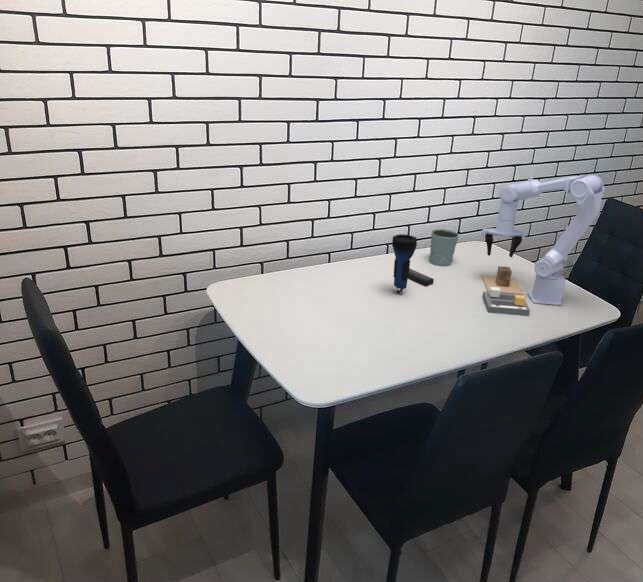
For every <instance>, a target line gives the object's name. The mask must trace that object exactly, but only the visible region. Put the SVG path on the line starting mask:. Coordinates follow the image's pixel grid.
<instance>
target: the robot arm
mask: <svg viewBox="0 0 643 582" xmlns="http://www.w3.org/2000/svg"><path fill="white" fill-rule="evenodd" d="M561 190H563V191H564V192H565V193H566V194H569V193H570V195H571V196H572V198H573V199H574V201H575V203H576V204H577V206H578V210H579V211H578V212H577V214H576V215H574V216H575V217H573V219H572V220H571V222H570V224H569V225H568V226H567V228H566V229H565V230H564V231H563V233H562V234H561V236H560V237H559V238H558V240H557V242H556V243H554V246H552V248H551V249H550V250H549V251H548V252H546V253H545V255H544V256H543V257H542V258H540V259H539V260H537V261H536V262H535V264H534V272H535V278H534V282H533V288H532V291H529V292H527V294H528V297H529V299H530V300H531V301H532V303H533V304H542V305H555V306H556V305H557V306H562V300H563V298H564V294H565V289H566V278H565V277H564V276H563V275H560V272H561V271H563V270H564V268H565V267H566V266H565V265H566V261H567V259H568V257H569V256H568V254H569V253H570V252H571V251H572V250H573V249H574V247H575V245H576V244H577V243H578V241H579V240H580V238H582V236H583V235H584V233H585V232H586V230H587V229H588V228H589V227H590V225H591V224H592V223H593V221H594V220H595V219H596V218H597V217H598V215H599V214H600V212H601V206H602V198H603V197H602V196H603V194H604V191H605V187H604V184H603V180H602V179H601V178H600V177H599V176H598V175H597V174H589V175H576V176H575V175H574V176H566V177H562V178H558V179H554V180H549V181H544V182H541V181H539V180H538V179H534V178H529V179H527V180H526V181H523V182H519V181H516V182H514V183H512V184H508V185H504V186H503V187H501V188H500V189H499V192H498V194H499V195H498V197H499V199H500V205H499V210H498V214H497V220H496V221H497V222H496V225H495V226H496V228H494V227H493V228H492V227H491V228H482V231H481V235H482V236H484V239H485V242H486V248H487V249H486V250H487V251H486V252H487V253H486V254H487V256H491V254H492V246H493V243H494V236H495V237H496V236H498V237H505V238H506V237H508V238H509V237H510V238H511V244H510V248H509V254H508V255H509V257H510V258H513V256H514V254H515V252H516V250H517V248H518V247H519V246H520V245H521V243H522V242H523V239H526V235H527V233H526V232H525V231H523V230H522V231H521V230H515V229H514V228H515V222H516V217H517V211H518V207H519V202H520V201H523V200H528V199H536V198H539V197H540V196H541V195H542V193H546V192H547V193H548V192H554V191H561Z"/></svg>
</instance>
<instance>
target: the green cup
mask: <svg viewBox="0 0 643 582" xmlns="http://www.w3.org/2000/svg"><path fill="white" fill-rule="evenodd" d="M430 237H431V239H430V253H429V263H430V264H432V265H434V266H438V267H449V266H451V265H452V262H453V258H454V254H455V250H456V247H457V243H458V240H459V233H458V232H456V231H453V230H449V229H445V228H437V229H433V230H432V231H431V235H430Z"/></svg>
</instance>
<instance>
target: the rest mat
mask: <svg viewBox="0 0 643 582" xmlns="http://www.w3.org/2000/svg"><path fill="white" fill-rule="evenodd" d="M481 279H482V281H483V284H484V286H485V289H486V292H489V290H490V287H499V288H500V290H501V291H500V293H507V294H519V295H524V292H523V291H522V288H521V287H520V285H519V283H518V281H517V279H516V278H515V277H511V279H510V284H509V287H502V286H497V284H496V276H491V275H481Z"/></svg>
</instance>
